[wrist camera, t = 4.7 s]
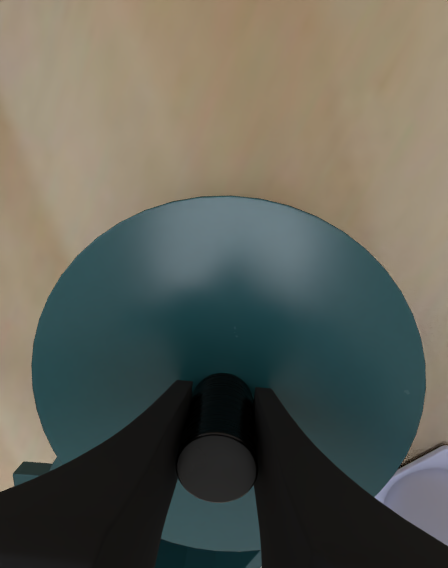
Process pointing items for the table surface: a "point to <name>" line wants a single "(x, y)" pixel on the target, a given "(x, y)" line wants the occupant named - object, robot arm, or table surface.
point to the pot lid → (230, 350)
